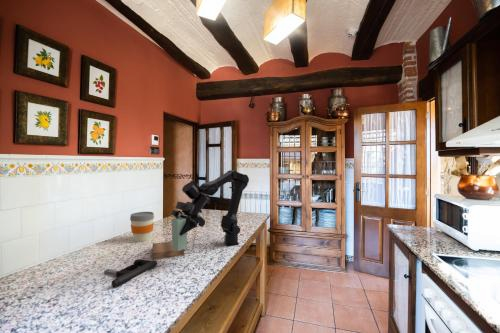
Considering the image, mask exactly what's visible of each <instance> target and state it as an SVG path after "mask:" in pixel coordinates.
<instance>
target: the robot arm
mask: <svg viewBox="0 0 500 333" xmlns="http://www.w3.org/2000/svg"><path fill="white" fill-rule="evenodd" d="M230 181H232V183H233V184H232V185H233V192H232V196H231V198H230V199H231V200H230V202H229V207H228V211H227V213H226V214H225V215H222V217H221V221H220V227H221V229H222V233H224V236H223V237H224V240H223V243H224V244H225V245H226V246H227V247H231V246H235V245H237V246H238V245H240V243H239V238H238V236H239V234H240V233H241V230H242V229H241V228H240V226H239V225H238V222H239V221H238V216H237V214H238V210H239V207H240V202H241V200H242V196H243V195H242V194H243V191H244V190H245V189H246V188H247V187H248V184H249V181H250V177H249V176H248V174H244V173H240V172H238V171H236V170H227V171H226V172H224V173H223V174H222V175H220V176H219V177H217V178H215V179H214V180H211V181H206V182H204V183H202V184H200V185H198V184H197V183H196V181H195V180H190V182H187V183H186V184H184V185H183V187H182V189H181V191H182V192H183V193H184V194H185V196H187V197H188V198H189V200H192V201H191V202H190V201H186V202H183V201H177V203H176V204H175V209H173V210H172V211H171V215H172V216H173V217H174V219H175V218H180V217H181V218H185V219H186V223H185V225H184V227H183V228H182V230H181V232H180V234H179V235H180V236H182V235H183V234H185V233H186V232H187V233H188V232H190V231H191V230H194V229H195V228H198V226H199V227H201V228H203V227H204V226H205V224H206V220H205V219H204V218H203V217H202V216H201V215H200V214H201V213H202V212H203V210H202V209H203V208H204V206H205V205H206V204H211V199H210V197H211V196H212V197H213V196H214V195H215V194H216V193H217V192H218V191H219V189H220V188H221V187H222V186H224V185H225V184H227V183H228V182H230ZM207 196H210V197H207Z"/></svg>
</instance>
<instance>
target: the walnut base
mask: <svg viewBox="0 0 500 333" xmlns="http://www.w3.org/2000/svg"><path fill="white" fill-rule="evenodd" d="M184 255H185V249H183V250H180V251H177V250H174V249H172V240H170V241H164V242H161V241H160V242H155V243H154V242H153V243H152V260H160V259H161V260H162V259H167V258H174V257H182V256H184Z"/></svg>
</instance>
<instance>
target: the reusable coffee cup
mask: <svg viewBox="0 0 500 333" xmlns="http://www.w3.org/2000/svg"><path fill="white" fill-rule="evenodd" d="M129 218H130V219H129V220H130V228H131V233H132V237H133V238H132V239H133V242H134V243H146V242H150V240H152V232H153V230H154V224H155V222H154V218H155V215H154V212H153V211H138V212H134V213H133V212H132V213H131V214H130V217H129Z"/></svg>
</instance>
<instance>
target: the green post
mask: <svg viewBox="0 0 500 333" xmlns="http://www.w3.org/2000/svg"><path fill="white" fill-rule="evenodd" d="M185 223H186V219H185V218H181V217H180V218H175V217H174V218H171V241H172V249H174V250H177V251H180V250H183V249H184V250H185V249H187V248H188V234H187V233H188V232H186V233H185V234H183V235H182V236H180V235H179V234H180V232H181V230H182V228H183V227H184V225H185Z"/></svg>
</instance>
